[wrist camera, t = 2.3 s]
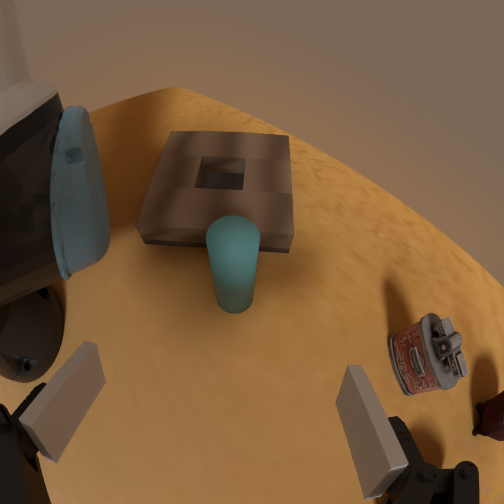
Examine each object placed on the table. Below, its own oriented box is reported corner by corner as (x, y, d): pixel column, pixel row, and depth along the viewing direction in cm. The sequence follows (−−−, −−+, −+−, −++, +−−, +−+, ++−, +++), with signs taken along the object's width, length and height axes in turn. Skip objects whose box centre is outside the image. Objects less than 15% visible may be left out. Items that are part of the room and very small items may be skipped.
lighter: (382, 339, 29) (430, 310, 21) (403, 329, 30) (453, 298, 21) (402, 400, 25) (458, 391, 17) (423, 389, 26) (480, 374, 17)
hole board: (144, 243, 34) (135, 225, 31) (174, 150, 43) (171, 131, 40) (288, 252, 35) (293, 234, 31) (285, 155, 44) (288, 135, 40)
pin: (215, 312, 30) (202, 258, 20) (218, 278, 32) (209, 214, 22) (252, 314, 30) (258, 262, 20) (253, 281, 32) (260, 217, 22)
